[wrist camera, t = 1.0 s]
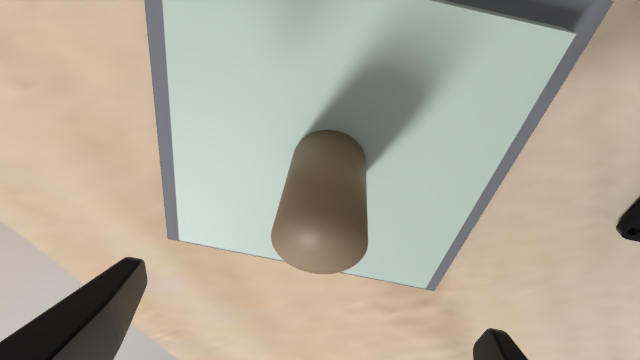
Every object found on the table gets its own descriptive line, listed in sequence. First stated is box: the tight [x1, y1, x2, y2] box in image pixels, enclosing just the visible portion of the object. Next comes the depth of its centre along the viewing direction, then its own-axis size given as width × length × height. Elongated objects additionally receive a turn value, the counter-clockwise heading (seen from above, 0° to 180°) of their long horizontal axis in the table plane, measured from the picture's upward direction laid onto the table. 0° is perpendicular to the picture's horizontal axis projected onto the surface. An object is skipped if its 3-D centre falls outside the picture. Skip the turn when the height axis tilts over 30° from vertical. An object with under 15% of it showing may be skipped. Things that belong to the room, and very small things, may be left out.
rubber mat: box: [145, 0, 614, 291], centre depth 15 cm, size 15×15×1 cm
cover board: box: [162, 0, 576, 288], centre depth 13 cm, size 13×13×5 cm
